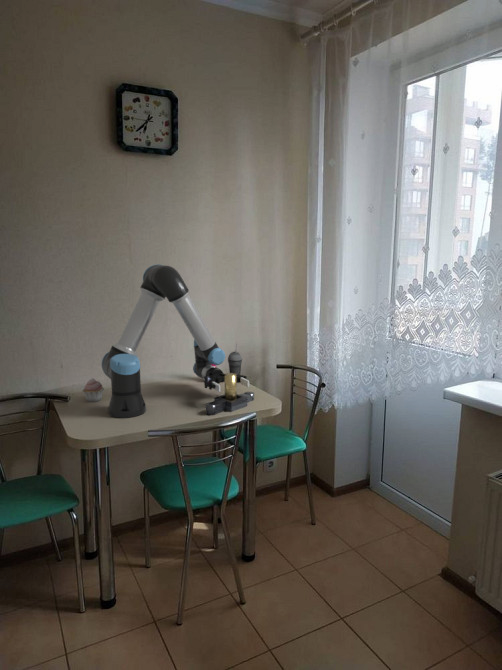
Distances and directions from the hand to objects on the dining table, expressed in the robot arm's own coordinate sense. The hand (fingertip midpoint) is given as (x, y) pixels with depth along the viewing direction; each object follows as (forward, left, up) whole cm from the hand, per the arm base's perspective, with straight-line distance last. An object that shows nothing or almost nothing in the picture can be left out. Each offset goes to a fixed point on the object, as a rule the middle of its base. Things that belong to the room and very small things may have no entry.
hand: (234, 386), depth 204 cm
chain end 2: (+6, +3, -10) cm, 12 cm away
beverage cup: (+30, +27, -10) cm, 42 cm away
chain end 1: (-3, +3, -10) cm, 11 cm away
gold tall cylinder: (+1, +3, -10) cm, 10 cm away
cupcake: (-32, +56, -10) cm, 65 cm away
